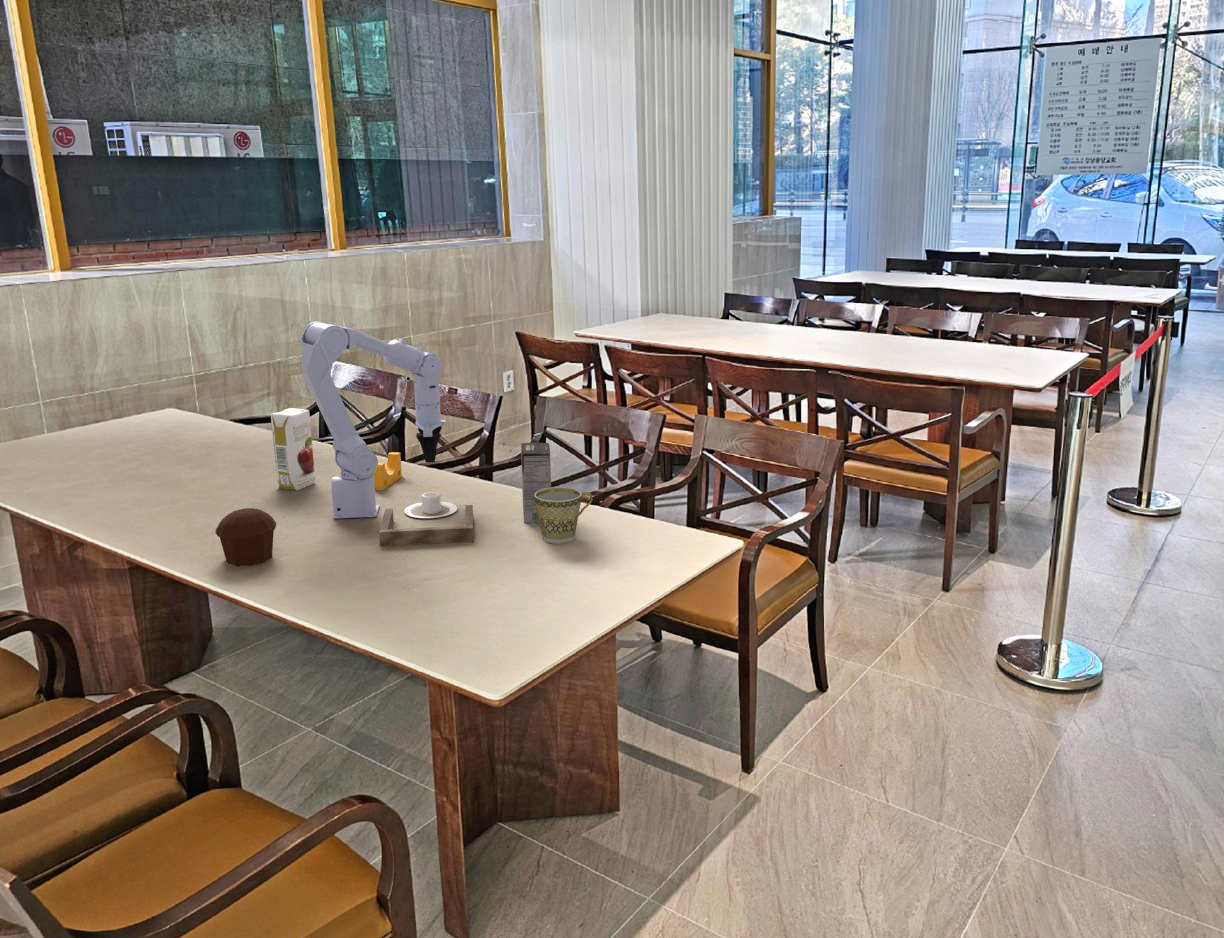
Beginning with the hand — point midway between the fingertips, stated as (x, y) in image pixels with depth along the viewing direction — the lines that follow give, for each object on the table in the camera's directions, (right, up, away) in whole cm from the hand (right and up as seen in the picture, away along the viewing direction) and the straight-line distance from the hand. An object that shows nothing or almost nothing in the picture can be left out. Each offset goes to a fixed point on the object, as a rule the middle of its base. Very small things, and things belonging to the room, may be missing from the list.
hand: (430, 459), depth 234 cm
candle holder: (+1, -13, -8) cm, 15 cm away
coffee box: (+26, -13, -11) cm, 31 cm away
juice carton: (-36, -7, +12) cm, 38 cm away
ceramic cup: (+33, -17, -25) cm, 45 cm away
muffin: (-30, -21, -36) cm, 51 cm away
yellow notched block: (-14, -6, +14) cm, 21 cm away
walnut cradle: (+3, -16, -20) cm, 26 cm away
